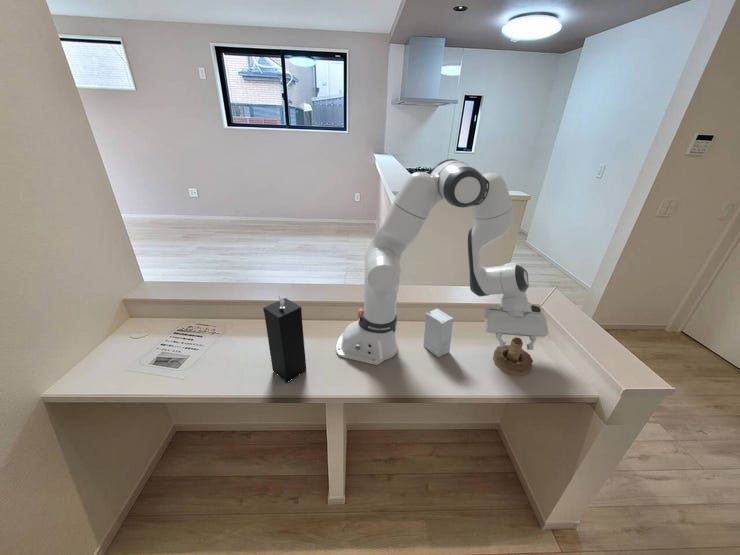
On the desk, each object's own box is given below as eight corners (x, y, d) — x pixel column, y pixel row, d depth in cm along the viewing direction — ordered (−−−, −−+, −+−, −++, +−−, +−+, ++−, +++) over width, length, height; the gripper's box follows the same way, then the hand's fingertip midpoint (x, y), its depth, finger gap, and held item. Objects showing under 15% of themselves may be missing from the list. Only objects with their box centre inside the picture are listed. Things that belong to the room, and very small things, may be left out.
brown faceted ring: (498, 373, 104) (500, 366, 103) (489, 350, 115) (491, 343, 113) (535, 376, 103) (538, 369, 102) (523, 353, 114) (525, 346, 112)
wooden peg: (507, 365, 107) (514, 342, 103) (504, 358, 111) (510, 335, 106) (518, 366, 107) (525, 343, 103) (514, 359, 110) (521, 336, 106)
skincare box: (449, 352, 113) (455, 318, 106) (437, 358, 110) (442, 323, 103) (433, 340, 119) (438, 307, 113) (421, 345, 116) (425, 312, 110)
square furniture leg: (287, 383, 97) (277, 307, 85) (272, 371, 102) (261, 297, 90) (306, 370, 103) (300, 297, 90) (292, 359, 107) (284, 288, 95)
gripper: (486, 304, 107) (487, 344, 103) (548, 308, 106) (552, 350, 101) (481, 308, 113) (482, 346, 109) (539, 312, 112) (543, 352, 107)
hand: (516, 348), depth 105 cm, fingers open, 8 cm apart
